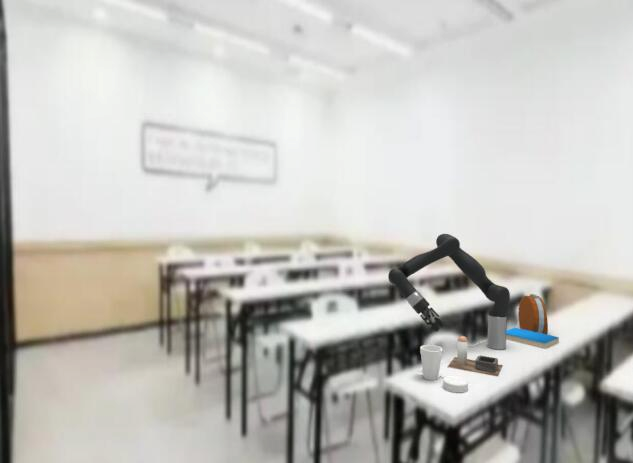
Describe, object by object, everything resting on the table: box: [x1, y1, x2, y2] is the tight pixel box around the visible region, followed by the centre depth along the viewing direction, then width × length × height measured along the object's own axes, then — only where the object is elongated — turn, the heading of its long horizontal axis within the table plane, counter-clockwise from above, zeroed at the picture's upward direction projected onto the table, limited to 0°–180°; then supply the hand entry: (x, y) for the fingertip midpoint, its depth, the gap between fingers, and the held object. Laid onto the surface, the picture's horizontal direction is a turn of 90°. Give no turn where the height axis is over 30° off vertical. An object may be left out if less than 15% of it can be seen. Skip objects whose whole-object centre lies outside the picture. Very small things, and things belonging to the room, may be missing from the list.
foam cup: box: [419, 344, 443, 381], centre depth 197 cm, size 10×9×13 cm
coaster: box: [442, 375, 469, 394], centre depth 186 cm, size 10×10×4 cm
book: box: [506, 327, 560, 350], centre depth 253 cm, size 17×4×25 cm
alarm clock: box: [517, 293, 549, 335], centre depth 270 cm, size 22×10×23 cm, turn 179°
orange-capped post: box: [456, 335, 468, 365], centre depth 211 cm, size 4×4×13 cm
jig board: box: [447, 354, 504, 377], centre depth 208 cm, size 16×22×5 cm
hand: (440, 328), depth 215 cm, fingers open, 8 cm apart
